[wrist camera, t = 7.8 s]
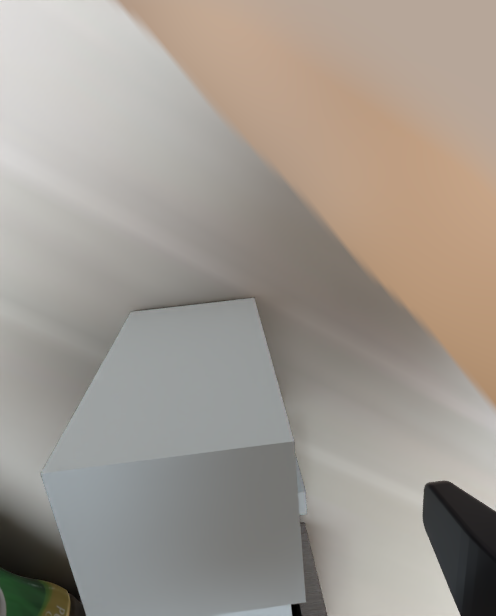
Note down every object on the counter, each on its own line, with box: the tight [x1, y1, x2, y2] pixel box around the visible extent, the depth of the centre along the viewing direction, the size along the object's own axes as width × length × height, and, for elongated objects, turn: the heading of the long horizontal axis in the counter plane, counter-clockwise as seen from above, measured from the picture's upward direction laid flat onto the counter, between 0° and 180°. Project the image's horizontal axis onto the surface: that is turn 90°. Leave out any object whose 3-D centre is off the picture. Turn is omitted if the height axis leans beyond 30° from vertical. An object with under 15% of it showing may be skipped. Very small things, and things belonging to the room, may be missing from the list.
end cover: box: [40, 298, 307, 616], centre depth 13 cm, size 11×6×8 cm, turn 6°
